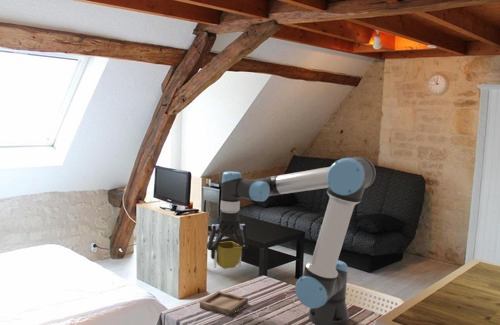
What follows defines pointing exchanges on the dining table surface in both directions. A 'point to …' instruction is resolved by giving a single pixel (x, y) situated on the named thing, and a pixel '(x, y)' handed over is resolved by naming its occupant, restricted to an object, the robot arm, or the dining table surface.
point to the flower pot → (228, 254)
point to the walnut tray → (223, 302)
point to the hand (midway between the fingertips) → (226, 266)
